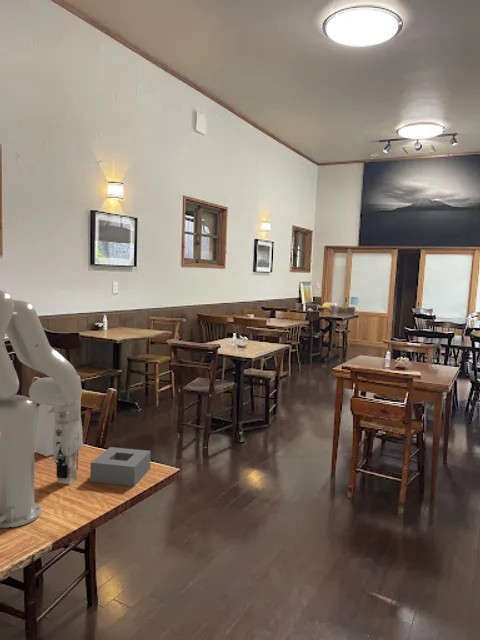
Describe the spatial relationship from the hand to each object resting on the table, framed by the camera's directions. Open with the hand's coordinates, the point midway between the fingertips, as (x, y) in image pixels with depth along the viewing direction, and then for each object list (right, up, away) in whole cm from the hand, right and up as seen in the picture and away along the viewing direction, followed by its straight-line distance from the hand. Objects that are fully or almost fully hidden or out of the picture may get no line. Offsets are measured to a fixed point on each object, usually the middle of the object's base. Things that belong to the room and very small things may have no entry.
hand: (67, 473), depth 146 cm
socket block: (+15, -2, +6) cm, 16 cm away
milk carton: (-15, 0, +24) cm, 28 cm away
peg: (0, -2, 0) cm, 2 cm away
